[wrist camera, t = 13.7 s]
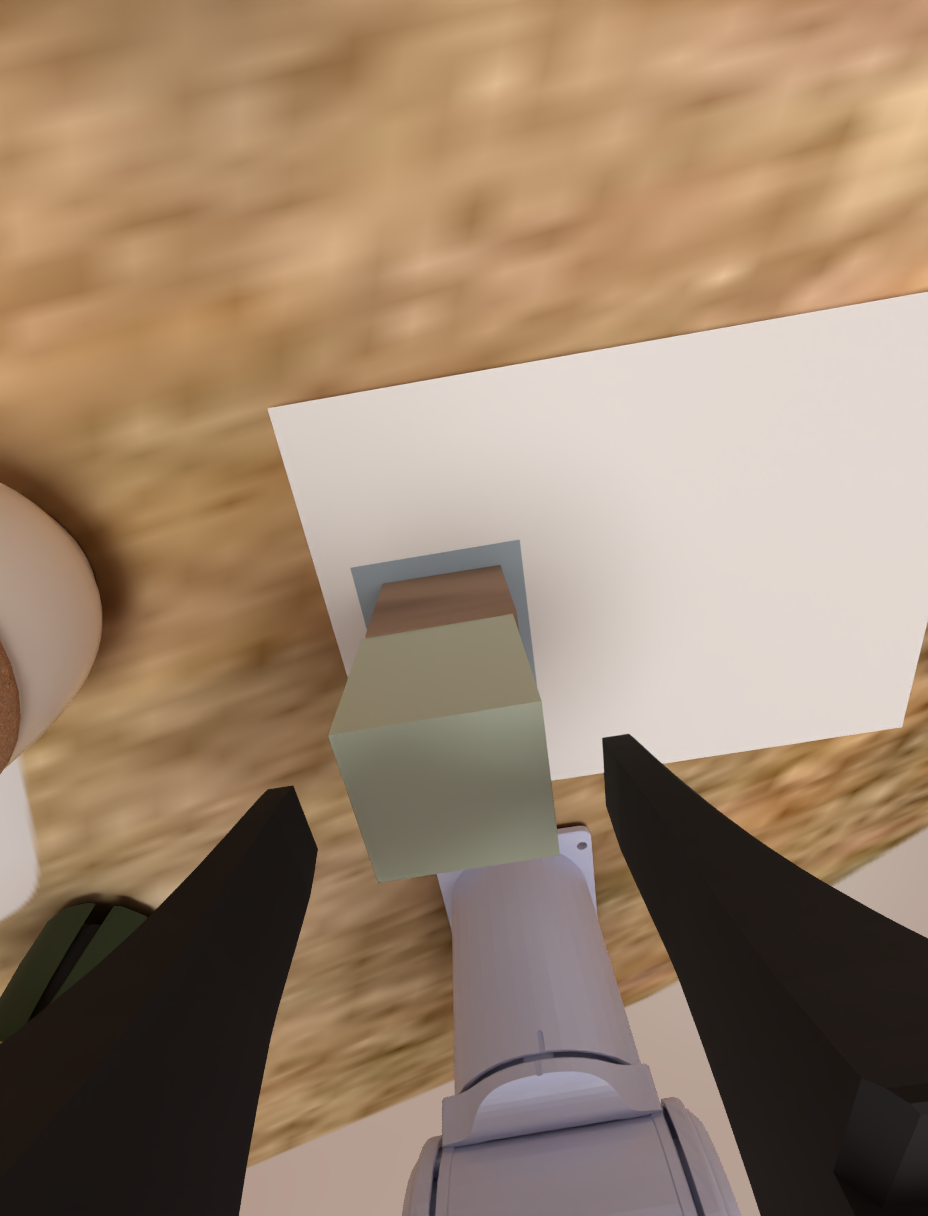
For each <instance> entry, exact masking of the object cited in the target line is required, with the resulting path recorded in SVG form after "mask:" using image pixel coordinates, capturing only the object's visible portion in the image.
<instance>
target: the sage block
mask: <svg viewBox="0 0 928 1216" xmlns="http://www.w3.org/2000/svg"><path fill="white" fill-rule="evenodd" d="M328 737H329V740H330V743H331V746H332V749H333V752H334V755H335V758H336V761H337V764H338V766H339V769H340V772H341V775H342V778H343V781H344V784H345V787H346V790H347V793H348V796H349V799H350V802H351V805H352V808H353V811H354V814H355V817H356V819H357V822H358V825H359V828H360V831H361V834H362V837H363V840H364V843H365V846H366V849H367V852H368V855H369V858H370V861H371V864H372V867H373V870H374V872H375V875H376V878H377V881H378V883H381V882H387V881H394V880H401V879H407V878H414V877H420V876H427V875H434V874H440V873H447V872H453V871H460V870H467V869H473V868H480V867H486V866H493V865H500V864H506V863H513V862H520V861H526V860H533V859H539V858H546V857H553V856H559V855H560V850H559V842H558V833H557V825H556V817H555V808H554V800H553V792H552V783H551V775H550V767H549V758H548V750H547V742H546V733H545V725H544V717H543V708H542V701H541V698H540V695H539V692H538V689H537V686H536V683H535V679H534V676H533V673H532V670H531V667H530V664H529V661H528V658H527V655H526V652H525V649H524V646H523V643H522V640H521V637H520V634H519V631H518V628H517V625H516V622H515V619H514V616H513V614H508V615H502V616H496V617H490V618H484V619H478V620H472V621H466V622H460V623H454V624H448V625H442V626H436V627H430V628H424V629H418V630H412V631H406V632H399V633H393V634H387V635H381V636H375V637H369V638H363V639H362V640H361V642H360V645H359V648H358V651H357V654H356V657H355V660H354V662H353V665H352V668H351V671H350V674H349V677H348V680H347V682H346V685H345V688H344V691H343V694H342V697H341V700H340V702H339V705H338V708H337V711H336V714H335V717H334V720H333V722H332V725H331V728H330V731H329V734H328Z"/></svg>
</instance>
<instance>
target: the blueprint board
mask: <svg viewBox="0 0 928 1216" xmlns="http://www.w3.org/2000/svg"><path fill="white" fill-rule="evenodd" d="M268 412H269V415H270V419H271V422H272V425H273V429H274V432H275V435H276V439H277V442H278V445H279V449H280V452H281V455H282V459H283V462H284V466H285V469H286V472H287V476H288V479H289V482H290V486H291V489H292V492H293V496H294V499H295V503H296V506H297V509H298V513H299V516H300V519H301V523H302V526H303V529H304V533H305V536H306V539H307V543H308V546H309V550H310V553H311V556H312V560H313V563H314V566H315V570H316V573H317V576H318V580H319V583H320V586H321V590H322V593H323V597H324V600H325V603H326V607H327V610H328V613H329V617H330V620H331V623H332V627H333V630H334V633H335V637H336V640H337V644H338V647H339V650H340V654H341V657H342V660H343V664H344V667H345V670H346V674H347V677H349V674H350V671H351V668H352V665H353V662H354V660H355V657H356V654H357V651H358V648H359V645H360V642H361V640H362V639H363V638H366V637H365V635H366V632H367V629H368V626H369V623H370V620H371V617H372V614H373V611H374V609H375V606H376V603H377V600H378V597H379V594H380V591H381V588H382V585H383V583H389V582H395V581H402V580H408V579H414V578H421V577H427V576H433V575H439V574H446V573H452V572H458V571H465V570H471V569H477V568H483V567H490V566H496V565H500V566H501V568H502V571H503V574H504V577H505V580H506V583H507V586H508V588H509V591H510V594H511V597H512V600H513V603H514V606H515V608H516V611H517V618H518V626H519V634H520V637H521V640H522V643H523V646H524V649H525V652H526V655H527V658H528V661H529V664H530V667H531V670H532V673H533V676H534V679H535V683H536V686H537V689H538V692H539V695H540V698H541V701H542V708H543V717H544V725H545V733H546V742H547V750H548V758H549V767H550V775H551V781H553V780H559V779H566V778H572V777H579V776H585V775H592V774H599V773H604V762H603V746H602V738H604V737H610V736H617V735H623V734H630V735H631V736H633V737H634V738H635V739H636V740H637V741H638V742H639V743H640V744H641V745H642V746H644V747H645V748H646V749H647V750H648V751H649V752H650V753H651V754H652V755H653V756H654V757H655V758H657V759H658V760H659V761H660V762H661V763H662V764H664V763H670V762H677V761H684V760H690V759H697V758H703V757H710V756H716V755H723V754H729V753H736V752H742V751H749V750H755V749H762V748H769V747H775V746H782V745H788V744H795V743H801V742H808V741H814V740H821V739H827V738H834V737H840V736H847V735H854V734H860V733H867V732H873V731H880V730H886V729H893V728H899V727H902V725H903V720H904V716H905V712H906V708H907V704H908V700H909V696H910V691H911V687H912V683H913V679H914V675H915V671H916V667H917V662H918V658H919V654H920V650H921V646H922V642H923V638H924V633H925V629H926V625H927V621H928V292H923V293H917V294H912V295H906V296H900V297H895V298H889V299H884V300H878V301H872V302H867V303H861V304H855V305H850V306H844V307H838V308H833V309H827V310H821V311H816V312H810V313H804V314H799V315H793V316H787V317H782V318H776V319H770V320H765V321H759V322H753V323H748V324H742V325H737V326H731V327H725V328H720V329H714V330H708V331H703V332H697V333H691V334H686V335H680V336H674V337H669V338H663V339H657V340H652V341H646V342H640V343H635V344H629V345H623V346H618V347H612V348H606V349H601V350H595V351H590V352H584V353H578V354H573V355H567V356H561V357H556V358H550V359H544V360H539V361H533V362H527V363H522V364H516V365H510V366H505V367H499V368H493V369H488V370H482V371H476V372H471V373H465V374H460V375H454V376H448V377H443V378H437V379H431V380H426V381H420V382H414V383H409V384H403V385H397V386H392V387H386V388H380V389H375V390H369V391H363V392H358V393H352V394H346V395H341V396H335V397H329V398H324V399H318V400H313V401H307V402H301V403H296V404H290V405H284V406H279V407H273V408H268Z"/></svg>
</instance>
